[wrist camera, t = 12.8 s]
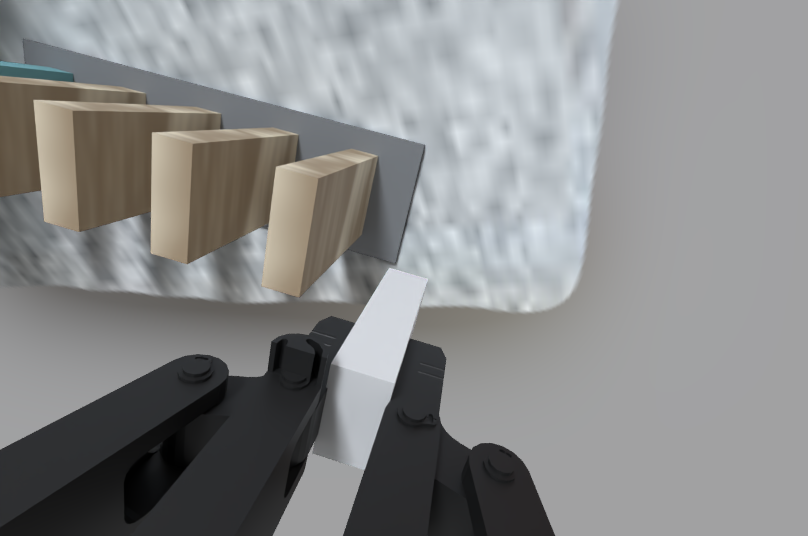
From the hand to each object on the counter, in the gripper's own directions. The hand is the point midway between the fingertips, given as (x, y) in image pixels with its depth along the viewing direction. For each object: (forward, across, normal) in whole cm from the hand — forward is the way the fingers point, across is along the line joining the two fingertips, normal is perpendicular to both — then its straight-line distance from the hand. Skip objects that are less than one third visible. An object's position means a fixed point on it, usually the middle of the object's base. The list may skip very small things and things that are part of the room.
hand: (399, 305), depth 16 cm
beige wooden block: (+16, -18, 0) cm, 24 cm away
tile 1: (+16, -6, 0) cm, 17 cm away
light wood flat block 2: (+16, -12, 0) cm, 20 cm away
